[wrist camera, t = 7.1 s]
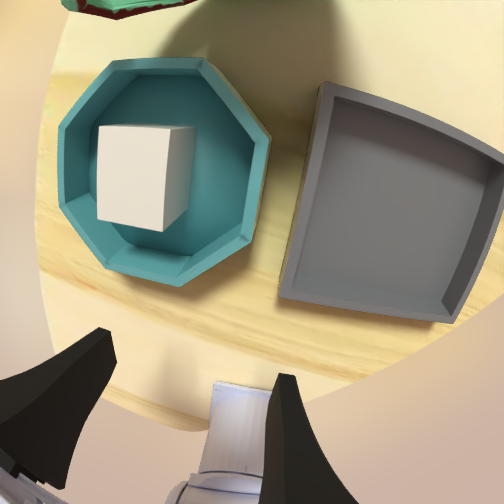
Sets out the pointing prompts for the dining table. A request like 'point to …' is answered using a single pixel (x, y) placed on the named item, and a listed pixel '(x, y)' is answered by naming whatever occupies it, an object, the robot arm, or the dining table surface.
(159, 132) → the off-white smooth cube
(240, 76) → the dining table surface
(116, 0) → the mug
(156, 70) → the bowl
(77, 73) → the dining table surface
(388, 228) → the parts tray
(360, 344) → the dining table surface
